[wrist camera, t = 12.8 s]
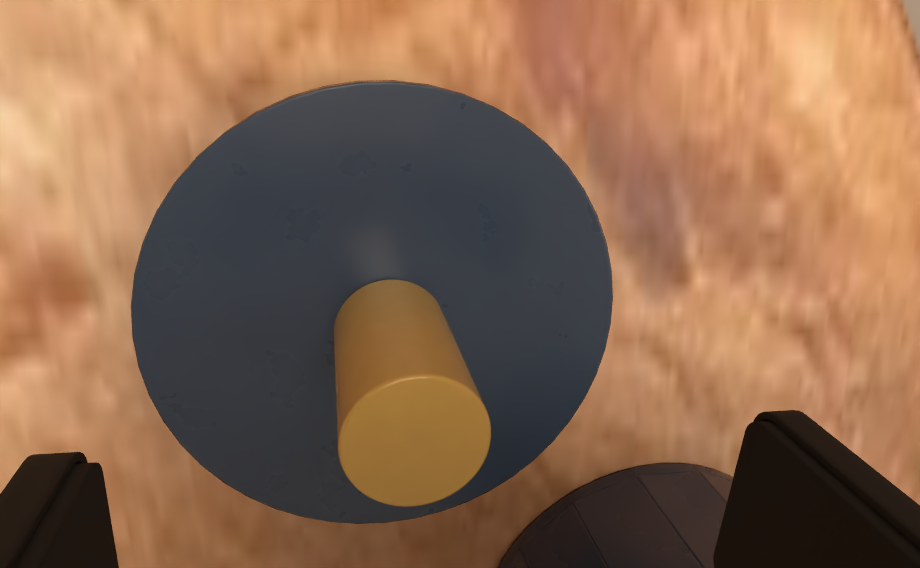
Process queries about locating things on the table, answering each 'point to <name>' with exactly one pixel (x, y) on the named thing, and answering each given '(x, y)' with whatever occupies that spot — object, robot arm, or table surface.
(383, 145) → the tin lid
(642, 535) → the tin
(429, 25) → the table surface
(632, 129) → the table surface
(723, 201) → the table surface
